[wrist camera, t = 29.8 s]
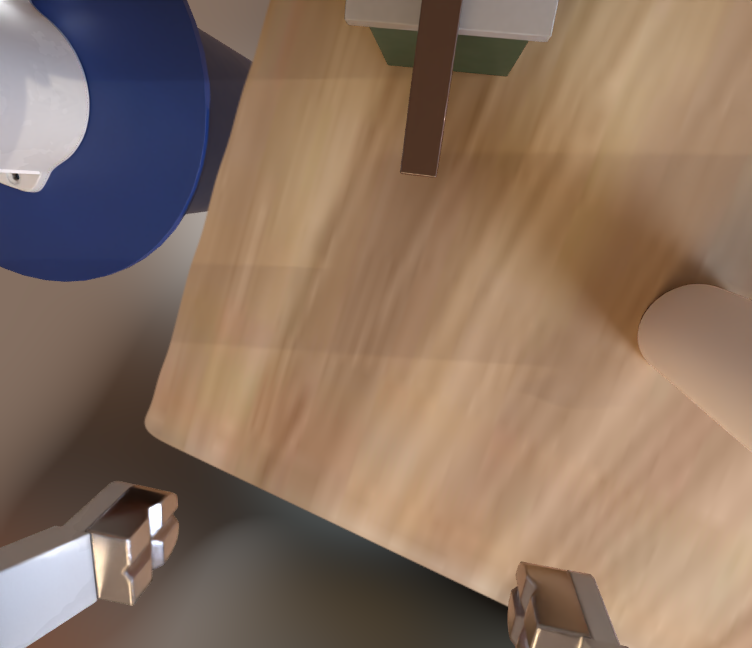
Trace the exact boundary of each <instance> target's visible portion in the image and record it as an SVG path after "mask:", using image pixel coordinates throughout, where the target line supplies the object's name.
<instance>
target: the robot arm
mask: <svg viewBox="0 0 752 648" xmlns="http://www.w3.org/2000/svg"><path fill="white" fill-rule="evenodd" d="M88 118H89V92H88V86H87V81H86V77H85V74H84V71H83V68H82V65H81V63H80V60H79V58H78V56H77V54H76V52H75V50H74V49H73V47H72V45H71V44H70V42H69V41H68V39H67V38H66V37H65V35H64V34H63V33H62V32H61V31H60V30H59V28H58V27H57V26H56V25H55V24H54V23H53V22H51V21H50V20H49V19H48V18H47V17H46V16H44V15H43V14H42V13H41V12H40V11H39V10H38V9H37V8H36V7H35V6H34V5H33V3H32V1H31V0H0V183H2V184H5V185H8V186H11V187H14V188H17V189H20V190H22V191H26V192H39V191H40V190H41V189H42V188H43V187H44V186H45V184H46V182H47V180H48V178H49V176H50V174H51V172H52V171H53V170H54V169H55V168H56V167H57V166H58V165H60V164H61V163H63V162H64V161H66V160H67V159H68V158H69V157H70V156H71V155H72V154H73V153H74V152H75V151H76V149H77V148H78V147H79V145H80V143H81V141H82V139H83V137H84V134H85V132H86V128H87V124H88ZM18 174H19V177H18ZM177 507H178V501H177V495H176V494H174V493H172V492H167V491H163V490H158V489H154V488H149V487H145V486H140V485H133V484H129V483H125V482H121V481H115V482H112V483H110V484H109V485H108V486H106V487H105V488H104V489H103V490H102V491H101V492H100V493H99V494H98V495H96V496H95V497H94V498H93V499H92V500H91V501H90V502H89V503H88V504H86V505H85V506H84V507H83V508H82V509H81V510H80V511H79V512H78V513H76V514H75V515H74V516H73V517H72V518H71V519H70V520H69V521H68V522H66V523H65V524H64V525H63V526H62V527H59V526H54V527H51V528H49V529H46V530H44V531H41V532H39V533H36V534H34V535H31V536H29V537H26V538H24V539H21V540H19V541H16V542H14V543H11V544H9V545H6V546H4V547H1V548H0V648H25V647H27V646H28V645H30V644H31V643H33V642H35V641H36V640H37V639H39V638H41V637H42V636H44V635H45V634H47V633H48V632H50V631H51V630H53V629H55V628H56V627H57V626H59V625H60V624H62V623H64V622H65V621H67V620H68V619H70V618H71V617H73V616H74V615H76V614H77V613H79V612H81V611H82V610H84V609H85V608H87V607H88V606H90V605H91V604H93V603H94V602H96V601H97V599H103V600H107V601H112V602H118V603H123V604H128V605H134V604H135V603H136V602H137V600H138V599H139V598H140V596H141V595H142V594H143V592H144V591H145V589H146V588H147V587H148V585H149V584H150V582H151V581H152V570H154V569H156V568H158V567H160V566H161V565H163V564H164V563H165V562H166V561H167V559H168V558H169V556H170V555H171V553H172V551H173V549H174V546H175V544H176V542H177V537H178V531H179V522H178V521H177V519H176V518H175V517H174V515H173V513H174V511H175V510H176V509H177ZM516 580H517V587H515V588H514V589H512V590H511V594H510V599H509V604H508V630H509V638H510V639H511V641H512V642H513V644H514V645H515V646H516V648H628V647H626V646H622V645H620V643H619V640H618V638H617V635H616V633H615V630H614V628H613V625H612V622H611V620H610V617H609V615H608V612H607V609H606V607H605V604H604V602H603V599H602V597H601V594H600V591H599V589H598V586H597V584H596V581H595V578H594V577H593V576H592V575H591V574H587V573H581V572H576V571H570V570H567V571H566V570H563V569H558V568H553V567H548V566H542V565H537V564H532V563H526V562H520V564H519V565H518V568H517V572H516Z"/></svg>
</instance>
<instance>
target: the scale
mask: <svg viewBox="0 0 752 648" xmlns="http://www.w3.org/2000/svg"><path fill="white" fill-rule="evenodd" d="M421 1H422V0H346V6H345V20H346V22H347V24H348V25H354V26H366V27H370V29H371V31H372V33H373V35H374V37H375V39H376V42H377V44H378V46H379V48H380V50H381V52H382V54H383V56H384V58H385V60H386V62H387V64H388V65H393V66H403V67H413V65H414V57H415V49H416V41H417V33H418V25H419V17H420V9H421ZM557 5H558V0H464V1H463V8H462V14H461V21H460V27H459V34H458V41H457V47H456V54H455V61H454V67H453V71H456V72H467V73H478V74H488V75H499V76H508V74H509V72H510V71H511V69H512V67H513V66H514V64H515V62H516V61H517V59H518V58H519V56H520V54H521V53H522V51H523V49H524V48H525V46H526V44H527V43H528V41H540V42H547V41H548V40H549V38H550V37H551V35H552V30H553V25H554V20H555V15H556V10H557Z"/></svg>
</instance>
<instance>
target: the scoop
mask: <svg viewBox="0 0 752 648" xmlns="http://www.w3.org/2000/svg"><path fill="white" fill-rule="evenodd" d="M463 1H464V0H422V1H421V9H420V17H419V25H418V33H417V41H416V49H415V57H414V65H413V73H412V81H411V89H410V97H409V105H408V113H407V121H406V129H405V137H404V145H403V153H402V161H401V169H400V173H401V174H407V175H415V176H424V177H432V178H436V177H437V174H438V167H439V161H440V154H441V147H442V141H443V134H444V127H445V121H446V114H447V107H448V101H449V94H450V87H451V81H452V74H453V67H454V61H455V54H456V47H457V41H458V34H459V27H460V21H461V14H462V8H463Z"/></svg>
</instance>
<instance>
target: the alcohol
mask: <svg viewBox="0 0 752 648" xmlns="http://www.w3.org/2000/svg"><path fill="white" fill-rule="evenodd" d="M638 345H639V349H640V351H641V353H642V355H643V357H644V359H645V360H646V361H647V362H648V363H649V364H650V365H651V366H652V367H653V368H654V369H655V370H657V371H658V372H659V373H660V374H661V375H662V376H664V377H665V378H666V379H667V380H668V381H669V382H670V383H672V384H673V385H674V386H675V387H676V388H677V389H679V390H680V391H681V392H682V393H683V394H684V395H686V396H687V397H688V398H689V399H690V400H691V401H692V402H694V403H695V404H696V405H697V406H698V407H699V408H701V409H702V410H703V411H704V412H705V413H706V414H708V415H709V416H710V417H711V418H712V419H713V420H714V421H716V422H717V423H718V424H719V425H720V426H721V427H723V428H724V429H725V430H726V431H727V432H728V433H730V434H731V435H732V436H733V437H734V438H735V439H737V440H738V441H739V442H740V443H741V444H742V445H743V446H745V447H746V448H747V449H748V450H749V451H750V452H752V300H750V299H748V298H745V297H743V296H740V295H737V294H735V293H732V292H730V291H727V290H724V289H722V288H719V287H716V286H712V285H708V284H691V285H685V286H682V287H678V288H675V289H673V290H671V291H669V292H667V293H665V294H664V295H662V296H661V297H659V298H658V299H657V300H656V301H655V302H654V303H653V304H652V305H651V306H650V307H649V308H648V310H647V311H646V312H645V314H644V315H643V318H642V320H641V322H640V325H639V330H638Z"/></svg>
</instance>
